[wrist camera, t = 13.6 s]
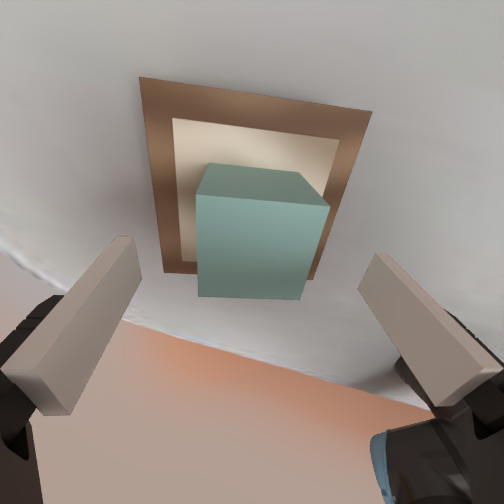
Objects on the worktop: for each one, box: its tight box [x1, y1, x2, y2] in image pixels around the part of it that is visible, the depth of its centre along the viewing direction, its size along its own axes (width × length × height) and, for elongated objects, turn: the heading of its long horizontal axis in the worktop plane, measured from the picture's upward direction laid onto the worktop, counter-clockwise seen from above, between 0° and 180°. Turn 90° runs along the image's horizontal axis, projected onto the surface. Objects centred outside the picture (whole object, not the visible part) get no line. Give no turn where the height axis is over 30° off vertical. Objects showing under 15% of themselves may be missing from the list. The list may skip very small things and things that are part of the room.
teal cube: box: [196, 163, 331, 300], centre depth 16 cm, size 7×7×7 cm
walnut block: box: [139, 77, 372, 280], centre depth 22 cm, size 16×16×8 cm
